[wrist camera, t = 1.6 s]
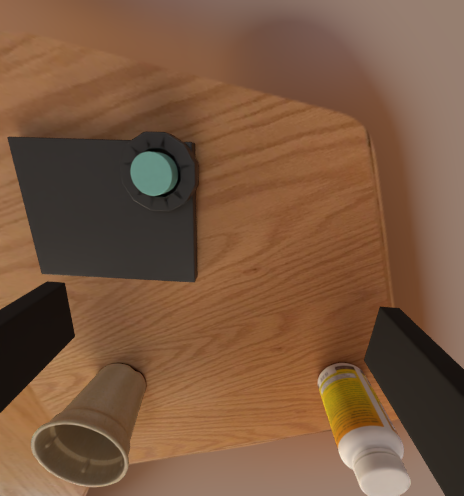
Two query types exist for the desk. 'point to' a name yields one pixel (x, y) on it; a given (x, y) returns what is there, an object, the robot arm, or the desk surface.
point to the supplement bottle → (363, 431)
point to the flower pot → (93, 430)
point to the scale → (108, 207)
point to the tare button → (154, 173)
